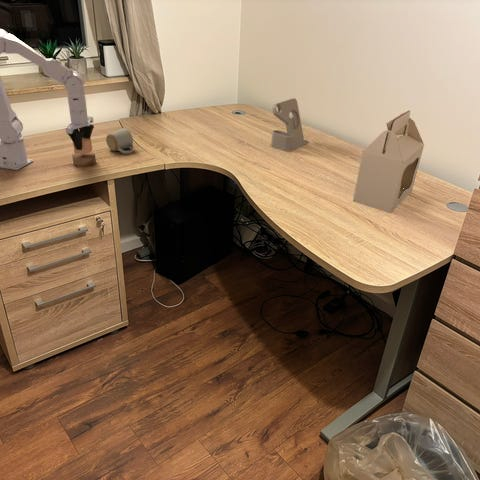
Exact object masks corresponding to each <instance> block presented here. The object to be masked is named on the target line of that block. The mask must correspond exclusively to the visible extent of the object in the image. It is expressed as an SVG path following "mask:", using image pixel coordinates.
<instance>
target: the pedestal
mask: <svg viewBox="0 0 480 480" xmlns="http://www.w3.org/2000/svg"><path fill="white" fill-rule="evenodd" d="M72 164H73V165H74V166H75V167H80V168H81V167H82V168H85V167H92V166H94V165H96V164H97V159H96V153H95V152H92V151H91V152H90V153H88V154H86V155H84V154H78V153H73V154H72Z"/></svg>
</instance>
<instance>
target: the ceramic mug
mask: <svg viewBox="0 0 480 480" xmlns="http://www.w3.org/2000/svg"><path fill="white" fill-rule="evenodd" d="M105 141H106V145H107V147H108V148H109V149H110V150H111V151H113V152H118V151H119V152H120V153H122V154H124V155H129V153H130V154H132V153H133V152H134V139H133V135H132V134H131V132H130V131H129V129H128V128H126V127H125V128H120V129H118V130H115V131H112V132H110V133H108V134H107V135H106V137H105ZM129 148H131V149H130V150H125V149H129Z"/></svg>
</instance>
